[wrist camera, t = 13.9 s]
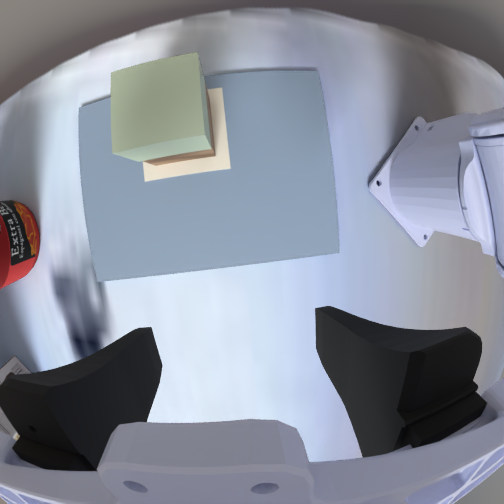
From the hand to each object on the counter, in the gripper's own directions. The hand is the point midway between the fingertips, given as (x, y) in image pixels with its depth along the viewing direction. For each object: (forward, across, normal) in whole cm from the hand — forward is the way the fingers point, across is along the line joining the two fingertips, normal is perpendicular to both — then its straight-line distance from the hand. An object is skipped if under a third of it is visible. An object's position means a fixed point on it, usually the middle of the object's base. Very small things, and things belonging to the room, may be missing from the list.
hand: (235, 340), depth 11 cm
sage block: (+6, +2, -11) cm, 13 cm away
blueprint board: (+10, +2, -8) cm, 13 cm away
